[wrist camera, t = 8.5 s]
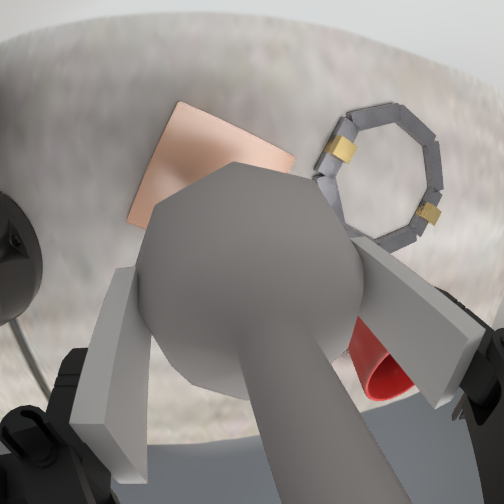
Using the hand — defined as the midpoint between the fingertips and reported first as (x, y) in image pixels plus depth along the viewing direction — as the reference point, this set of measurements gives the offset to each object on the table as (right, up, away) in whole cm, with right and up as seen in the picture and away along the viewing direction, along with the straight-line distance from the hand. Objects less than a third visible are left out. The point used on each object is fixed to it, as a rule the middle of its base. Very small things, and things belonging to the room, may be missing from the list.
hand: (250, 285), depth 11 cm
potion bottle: (-1, +2, +4) cm, 4 cm away
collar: (+15, +9, +21) cm, 27 cm away
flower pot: (+16, -9, +29) cm, 34 cm away
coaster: (-4, +7, +17) cm, 19 cm away
